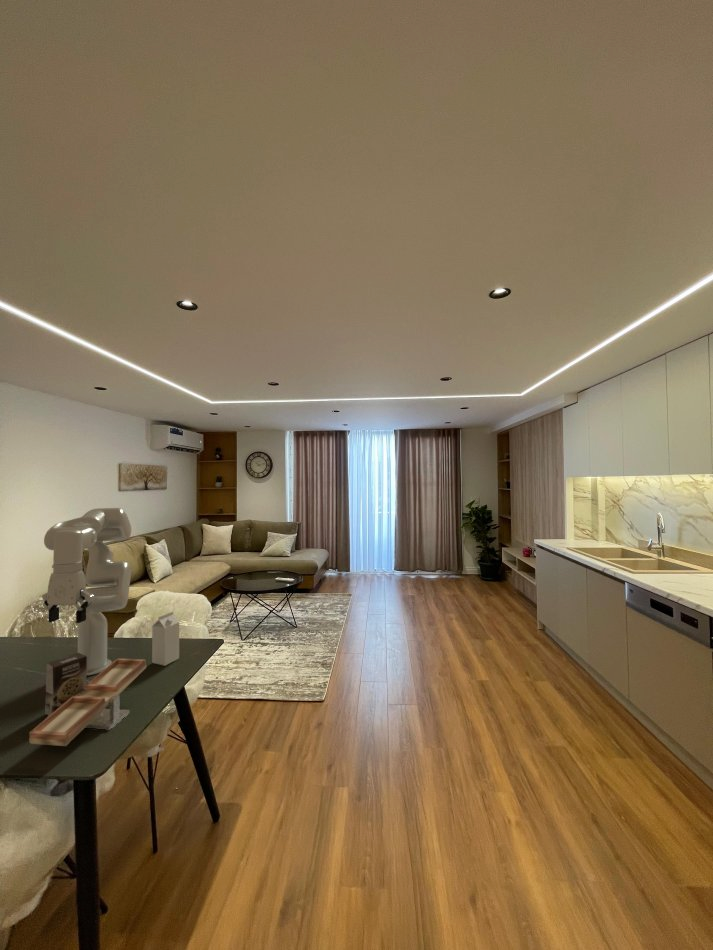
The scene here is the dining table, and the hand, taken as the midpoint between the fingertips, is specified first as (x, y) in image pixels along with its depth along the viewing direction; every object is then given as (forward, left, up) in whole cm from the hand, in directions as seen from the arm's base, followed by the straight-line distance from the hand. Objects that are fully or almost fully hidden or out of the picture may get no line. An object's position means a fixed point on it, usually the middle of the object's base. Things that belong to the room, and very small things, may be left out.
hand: (67, 621), depth 121 cm
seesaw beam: (+14, -4, -22) cm, 26 cm away
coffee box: (0, 0, -28) cm, 28 cm away
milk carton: (+11, +35, -28) cm, 46 cm away
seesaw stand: (+14, -4, -28) cm, 32 cm away
